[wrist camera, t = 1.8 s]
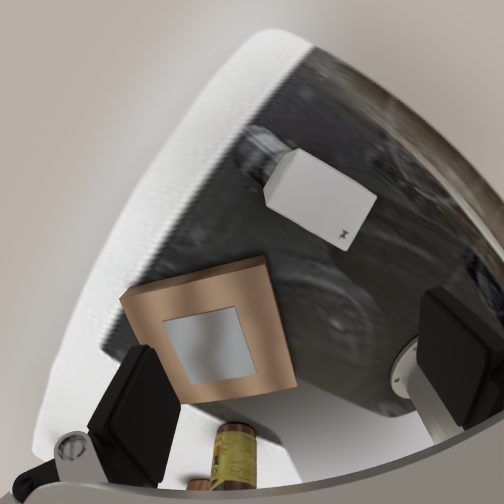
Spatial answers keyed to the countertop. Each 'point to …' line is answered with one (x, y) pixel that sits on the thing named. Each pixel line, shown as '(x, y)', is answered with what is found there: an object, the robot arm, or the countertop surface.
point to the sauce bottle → (234, 459)
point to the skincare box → (318, 198)
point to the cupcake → (198, 485)
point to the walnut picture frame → (215, 331)
